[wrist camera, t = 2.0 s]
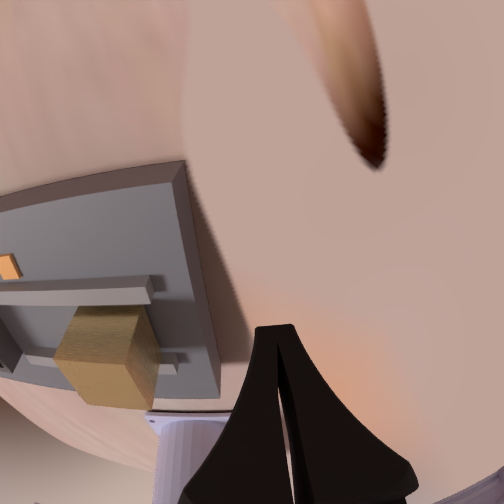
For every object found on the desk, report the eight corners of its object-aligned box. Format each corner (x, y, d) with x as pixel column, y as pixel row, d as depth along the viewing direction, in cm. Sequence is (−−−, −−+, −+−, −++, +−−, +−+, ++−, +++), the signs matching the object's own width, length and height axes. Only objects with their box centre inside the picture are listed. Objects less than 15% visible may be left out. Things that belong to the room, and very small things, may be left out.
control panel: (221, 363, 18) (219, 424, 14) (-28, 346, 18) (-46, 380, 14) (184, 160, 11) (159, 204, 8) (-91, 228, 11) (-122, 259, 8)
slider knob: (162, 353, 13) (151, 410, 10) (103, 352, 13) (87, 404, 10) (142, 303, 11) (123, 364, 9) (79, 304, 11) (52, 359, 9)
